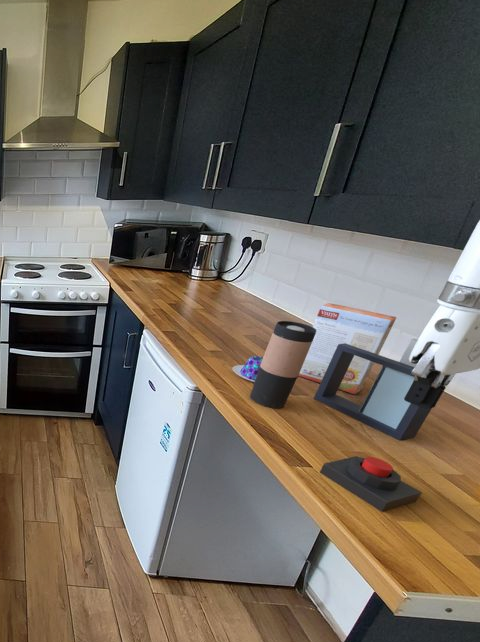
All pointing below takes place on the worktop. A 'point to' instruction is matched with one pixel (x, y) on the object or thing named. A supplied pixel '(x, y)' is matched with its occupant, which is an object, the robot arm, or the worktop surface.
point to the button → (377, 467)
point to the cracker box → (345, 328)
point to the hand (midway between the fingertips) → (418, 404)
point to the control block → (370, 484)
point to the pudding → (249, 368)
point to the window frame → (375, 394)
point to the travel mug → (282, 363)
